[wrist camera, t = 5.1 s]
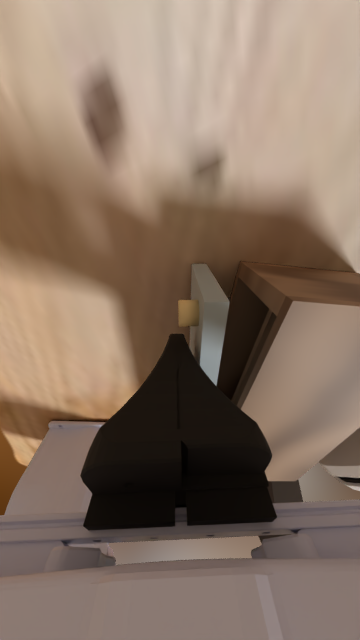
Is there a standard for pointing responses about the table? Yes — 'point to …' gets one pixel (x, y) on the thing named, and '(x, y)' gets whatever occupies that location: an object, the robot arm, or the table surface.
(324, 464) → the grey curved piece
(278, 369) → the cabinet
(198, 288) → the door
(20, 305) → the table surface
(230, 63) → the table surface
